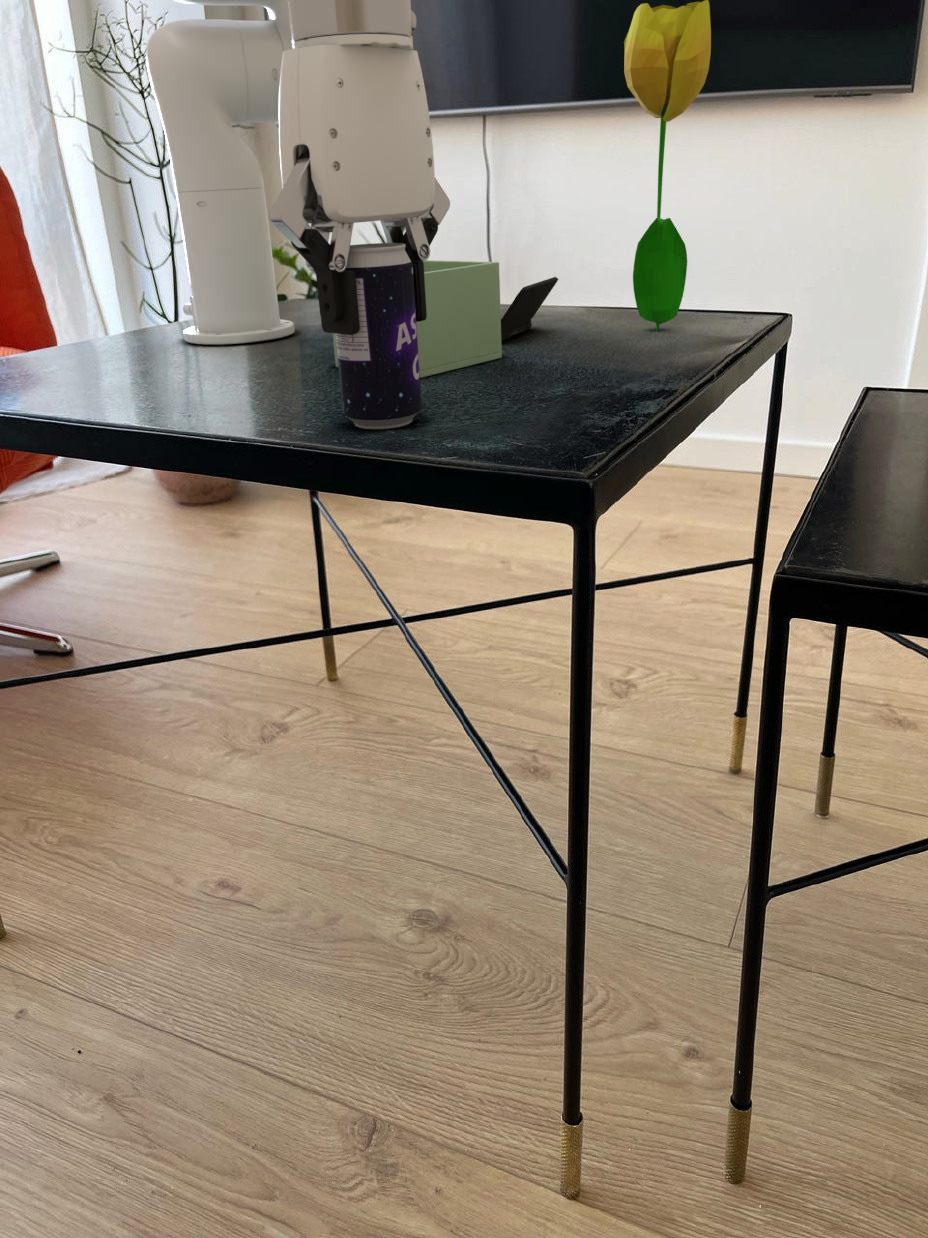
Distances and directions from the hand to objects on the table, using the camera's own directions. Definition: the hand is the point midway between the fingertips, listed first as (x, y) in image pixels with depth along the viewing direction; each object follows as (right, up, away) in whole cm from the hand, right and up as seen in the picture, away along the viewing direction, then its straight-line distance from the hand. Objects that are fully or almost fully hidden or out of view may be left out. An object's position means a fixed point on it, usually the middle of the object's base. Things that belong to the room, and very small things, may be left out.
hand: (375, 323), depth 68 cm
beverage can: (0, -6, +3) cm, 7 cm away
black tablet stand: (+10, +10, +37) cm, 40 cm away
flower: (+27, +10, +36) cm, 46 cm away
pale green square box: (+2, +4, +25) cm, 25 cm away
